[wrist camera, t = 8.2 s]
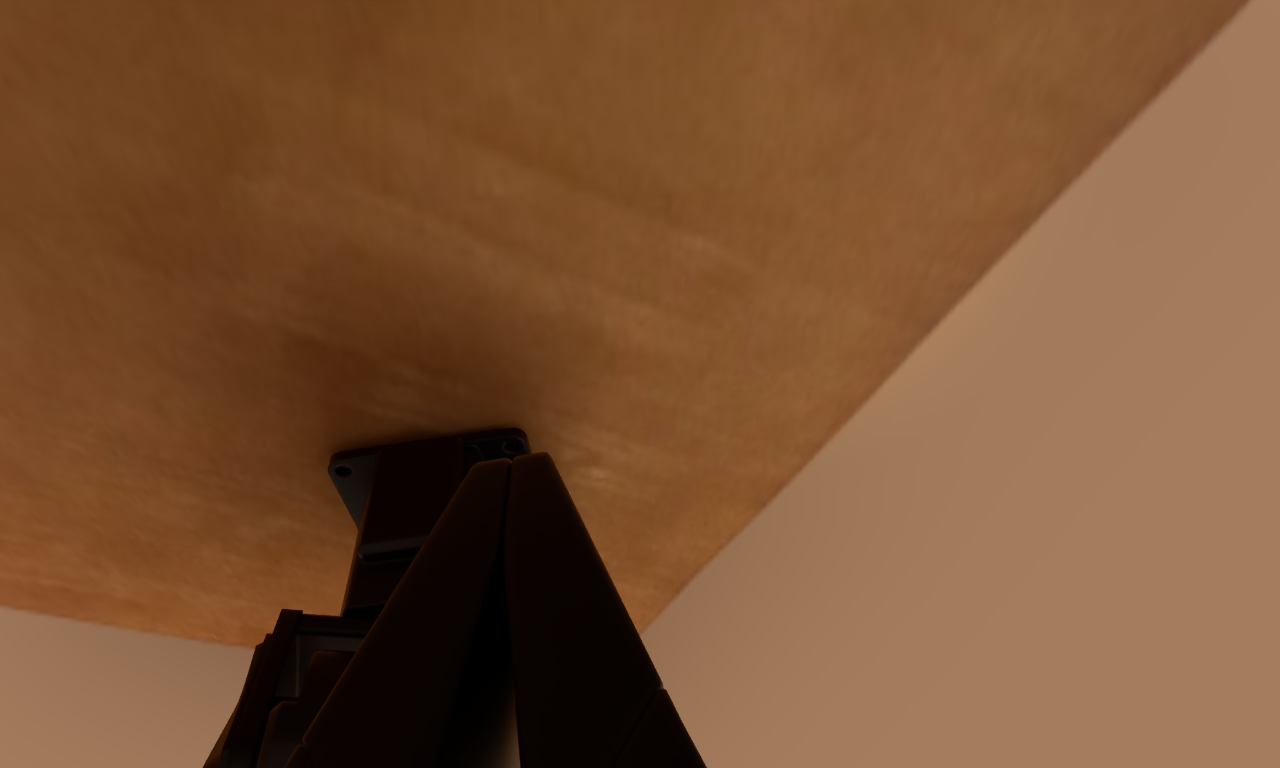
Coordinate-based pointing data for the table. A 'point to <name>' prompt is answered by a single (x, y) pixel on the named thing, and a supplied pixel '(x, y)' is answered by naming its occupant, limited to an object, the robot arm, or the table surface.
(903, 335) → the table surface
